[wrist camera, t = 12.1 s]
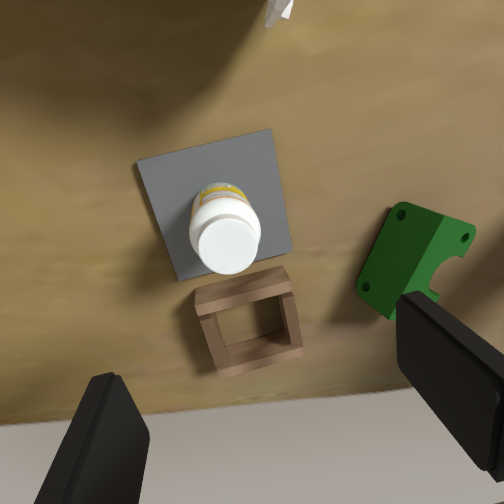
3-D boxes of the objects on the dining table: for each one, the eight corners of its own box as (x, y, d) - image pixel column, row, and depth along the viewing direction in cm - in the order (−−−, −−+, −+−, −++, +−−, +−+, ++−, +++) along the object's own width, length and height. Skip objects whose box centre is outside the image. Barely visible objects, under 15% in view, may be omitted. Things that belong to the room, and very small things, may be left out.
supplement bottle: (215, 169, 28) (221, 189, 19) (260, 205, 29) (285, 238, 21) (180, 216, 29) (170, 256, 20) (226, 247, 31) (235, 296, 22)
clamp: (374, 267, 40) (412, 329, 35) (340, 262, 38) (376, 328, 32) (450, 197, 33) (515, 261, 27) (415, 184, 30) (479, 252, 24)
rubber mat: (269, 128, 28) (271, 128, 27) (290, 248, 33) (292, 251, 32) (137, 160, 27) (136, 161, 26) (179, 277, 32) (178, 281, 31)
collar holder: (282, 265, 33) (290, 280, 30) (295, 335, 37) (304, 355, 34) (195, 288, 33) (194, 306, 29) (218, 357, 36) (219, 379, 33)
